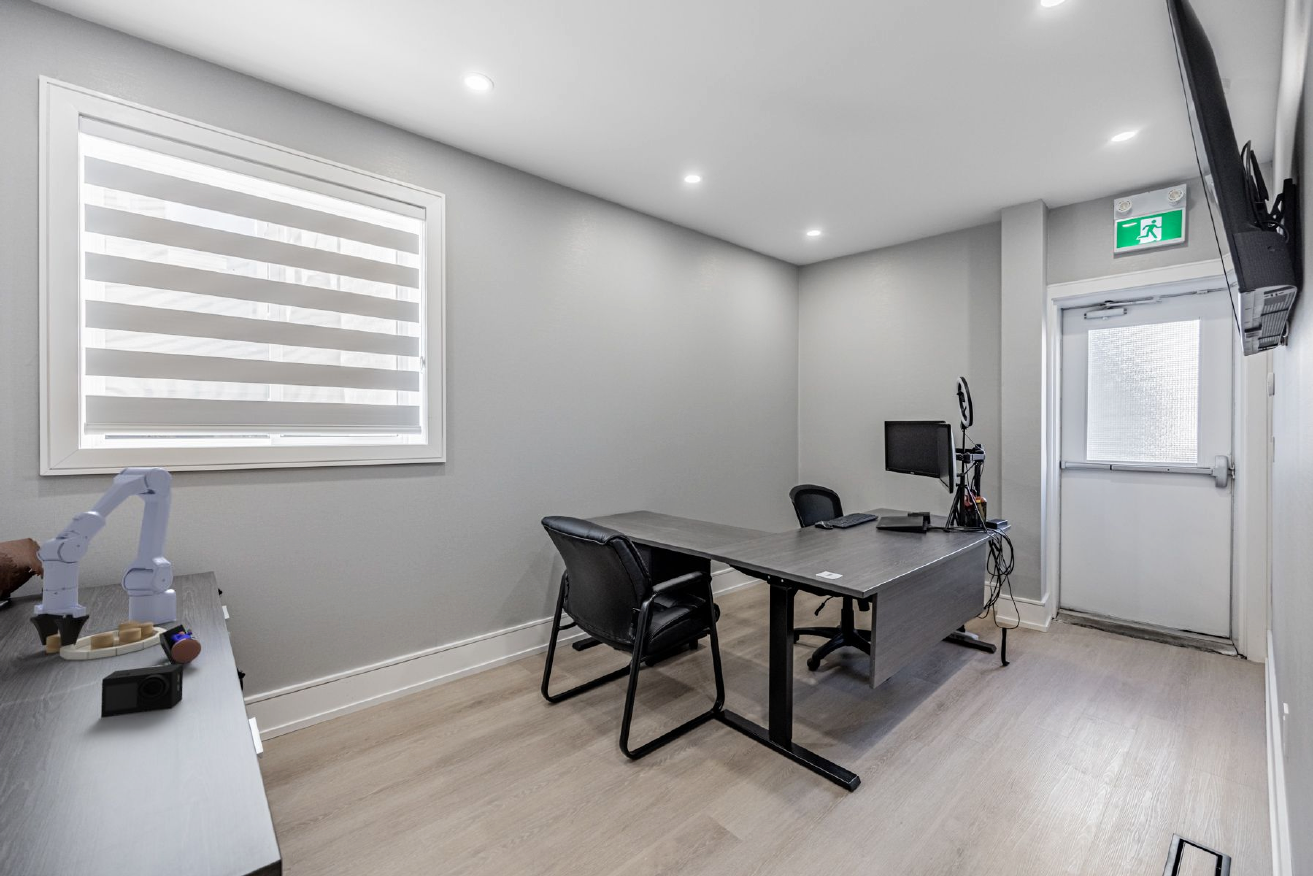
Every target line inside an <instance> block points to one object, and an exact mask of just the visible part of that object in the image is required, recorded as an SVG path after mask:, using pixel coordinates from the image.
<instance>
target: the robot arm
mask: <svg viewBox="0 0 1313 876" xmlns="http://www.w3.org/2000/svg"><path fill="white" fill-rule="evenodd" d="M172 479H173V475H171V473H170V472H169V471H168V470H166V469H165V468H163V467H159V466H158V467H157V466H156V467H134V466H132V467H131V466H129V467H125V468H123V469H121V470H120V471H119V473H118V474H117V475H115V476H114V477H113V484H112V485H111V486H110V487H109V488H108V489H107V490H106V492H104V494H103V495H102V497H101V498H100V499H99V500H98V501H97V502H96V504H94V506H92V508H91V509H90V510H89V511H83V512H80V513H79V514H75V515H74V516H73V517H72V521H70V522H69V524H67V525H66V526H65V527H64V528H63V529H62V530H61V531H59V532H58V533H57V534H56V536H55V538H51V539H47V540H46V541H45V542H44V543H43V544H41V545H40V547H39V549H38V550H37V551H36V553H35V554H36V557H37V559H38V560H39V561H40V562H41V568H42V569H43V579H42V580H43V585H42V604H38V605H37V604H36V605H34V606H33V607H34V608H33V614H34V615H36V616H31V617H30V618H29V621H30V622H31V624H33V626H34V627H35V629H36V631H37V633H38V636H39V639H40V642H41V645H42V646H46V642H47V637H49V636H52V635H56V634H60V638H61V645H62V647H63V646H67V645H71V644H74V645H75V644H76V642H77V640H78V639H79V637H80V633H81V631H82V629H83V628H84V627H83V626H84V625H85V624H86V623H87V621H88V620H89V619H90V614H87V607H86V606H82V605H81V604H79V603H78V599H79V571H80V560H81V559H82V558H84V557H85V556H86V555H87V552H88V547H89V545H90V543H91V541H92V540H93V539H94V538H95V537H96V536H97V535H98V534H99V532H100V531H101V530H103V529H104V527H105V526H107V521H106V518H107V517H108V516H109V515H110V514H111V513H112V512H113V511H114V510H116V509H117V508H119V506H120V505H121V504H123V503H124V501H126V500H127V499H128V498H129V497H130V496H134V495H136V496H138V497H139V498H141V500H143V501H144V509H143V516H142V522H141V528H140V535H139V542H138V547H137V548H138V549H137V554H136V558H135V559H134V560H132V561H131V562H130V563H128V564H127V567H126V571H125V573H124V575H123V576H122V579H121V586H122V588H123V590H124V591H126V593H127V595H129V598H128V599H129V602H128V605H129V607H128V622H129V621H139V624H140V623H147V622H152V623H153V626H154V625H159V624H161V625H162V624H166V623H170V622H176V621H177V620H178V619H177V595H176V591H175V590H174V589H171V588H170V586H171V585H172V583H173V579H174V574H173V572H172V571H173V570H172V563H171V562H169V561H168V560H167V559H166V558H165V557H164V553H165V547H166V541H167V534H168V528H169V527H168V526H169V518H170V512H171V506H172V505H171V504H172V498H173V493H172V490H171V488H172V487H171V486H172ZM169 588H170V589H169Z"/></svg>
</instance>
